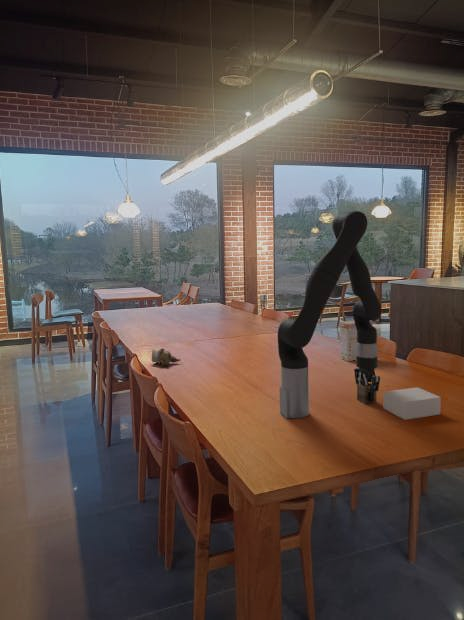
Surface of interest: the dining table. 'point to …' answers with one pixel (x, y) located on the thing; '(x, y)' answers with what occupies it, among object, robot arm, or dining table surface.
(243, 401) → the dining table surface
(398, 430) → the dining table surface
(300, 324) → the robot arm
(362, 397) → the walnut block
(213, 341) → the dining table surface
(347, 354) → the coffeecake box
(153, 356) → the ceramic sculpture
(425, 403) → the block
